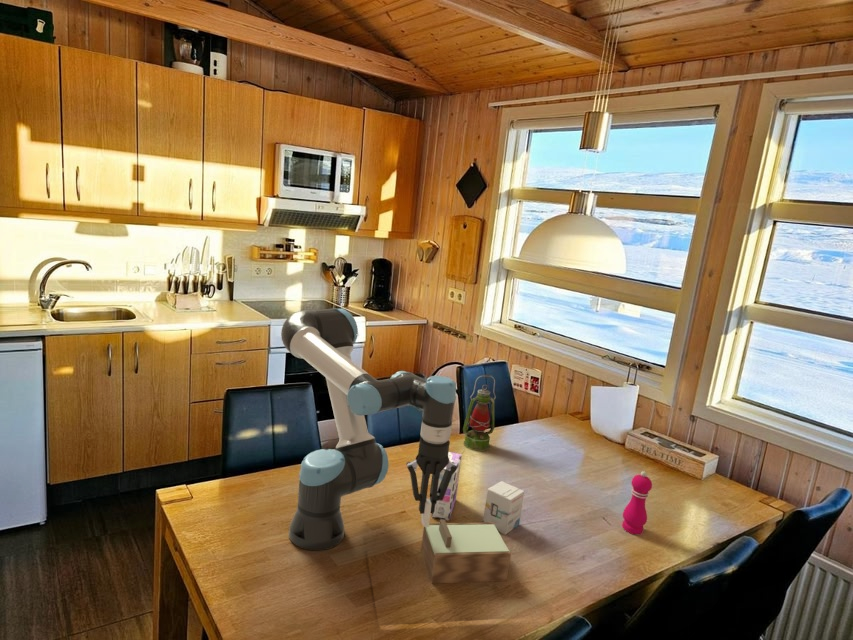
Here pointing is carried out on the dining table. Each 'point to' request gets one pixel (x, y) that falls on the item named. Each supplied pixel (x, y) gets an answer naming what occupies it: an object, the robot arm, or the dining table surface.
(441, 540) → the lid
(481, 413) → the lantern
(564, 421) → the dining table surface
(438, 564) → the box
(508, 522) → the ink box
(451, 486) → the candy box
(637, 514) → the pepper mill
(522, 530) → the dining table surface
